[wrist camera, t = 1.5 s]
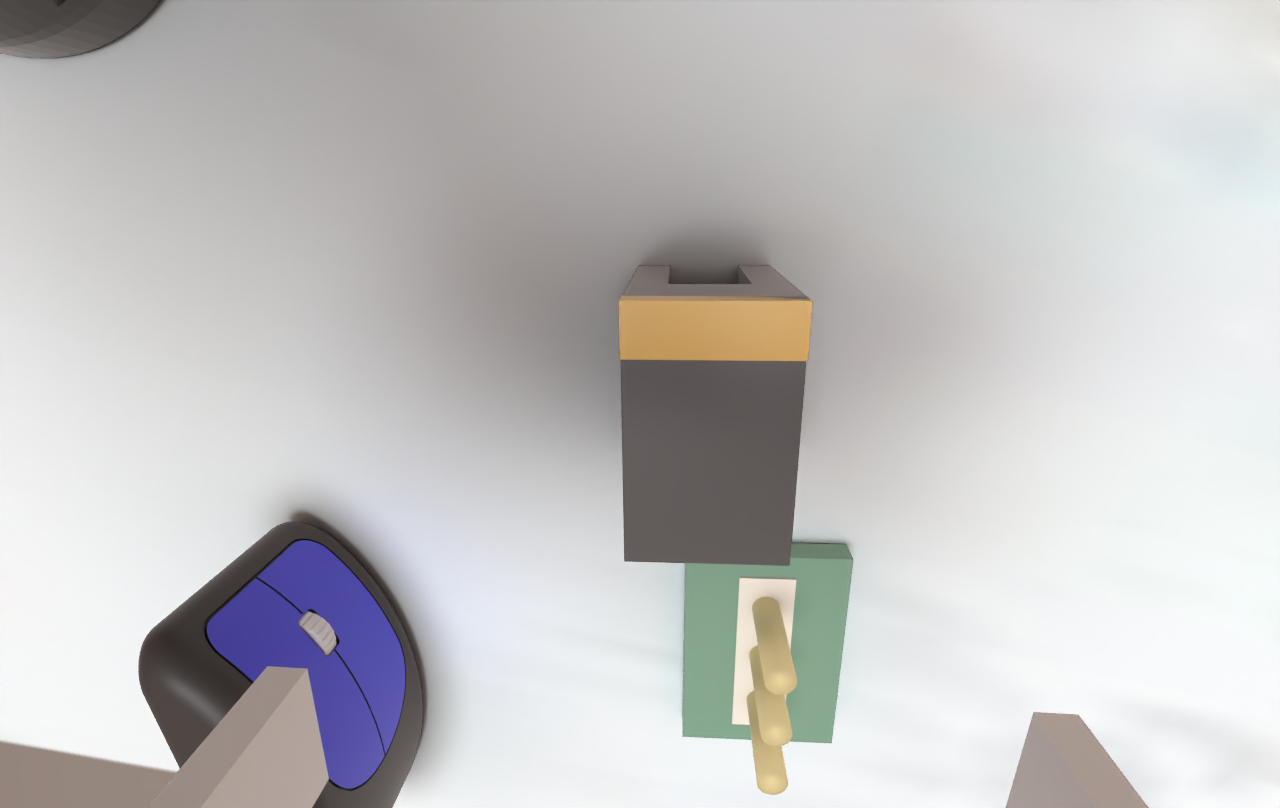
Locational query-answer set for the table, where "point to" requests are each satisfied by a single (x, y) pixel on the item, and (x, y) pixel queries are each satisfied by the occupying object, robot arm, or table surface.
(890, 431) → the table surface
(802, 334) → the gray orange-striped box
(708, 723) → the header
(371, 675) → the computer mouse
